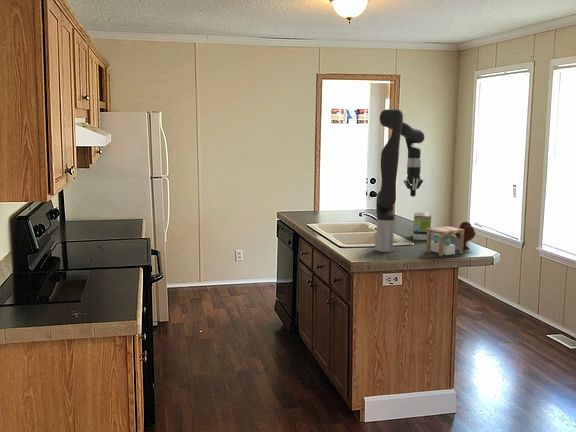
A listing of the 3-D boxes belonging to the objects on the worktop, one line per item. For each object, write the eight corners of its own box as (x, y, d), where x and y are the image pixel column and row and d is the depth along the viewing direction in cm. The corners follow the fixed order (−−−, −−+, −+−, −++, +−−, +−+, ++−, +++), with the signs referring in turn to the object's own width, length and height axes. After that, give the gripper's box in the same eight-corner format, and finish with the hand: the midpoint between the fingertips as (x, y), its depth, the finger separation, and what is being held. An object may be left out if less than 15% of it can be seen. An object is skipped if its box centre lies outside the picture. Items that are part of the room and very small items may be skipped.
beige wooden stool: (440, 256, 316) (441, 231, 314) (426, 252, 326) (427, 228, 324) (463, 253, 324) (464, 229, 322) (448, 249, 334) (449, 226, 332)
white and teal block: (446, 255, 320) (447, 238, 319) (428, 250, 332) (428, 234, 331) (454, 254, 323) (455, 237, 322) (436, 249, 335) (437, 233, 334)
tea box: (430, 240, 360) (431, 215, 358) (413, 239, 362) (414, 215, 360) (429, 236, 375) (430, 212, 372) (413, 235, 377) (414, 211, 374)
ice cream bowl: (450, 247, 340) (451, 221, 337) (466, 246, 344) (468, 220, 341) (461, 251, 330) (463, 224, 328) (478, 249, 334) (480, 223, 332)
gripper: (408, 166, 340) (408, 197, 343) (427, 166, 346) (426, 196, 349) (400, 166, 346) (399, 196, 349) (418, 165, 353) (417, 195, 355)
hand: (413, 196), depth 349 cm, fingers closed
